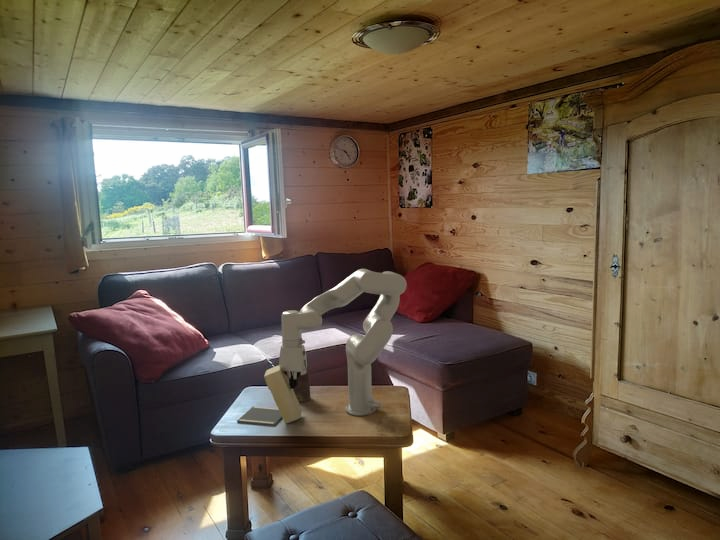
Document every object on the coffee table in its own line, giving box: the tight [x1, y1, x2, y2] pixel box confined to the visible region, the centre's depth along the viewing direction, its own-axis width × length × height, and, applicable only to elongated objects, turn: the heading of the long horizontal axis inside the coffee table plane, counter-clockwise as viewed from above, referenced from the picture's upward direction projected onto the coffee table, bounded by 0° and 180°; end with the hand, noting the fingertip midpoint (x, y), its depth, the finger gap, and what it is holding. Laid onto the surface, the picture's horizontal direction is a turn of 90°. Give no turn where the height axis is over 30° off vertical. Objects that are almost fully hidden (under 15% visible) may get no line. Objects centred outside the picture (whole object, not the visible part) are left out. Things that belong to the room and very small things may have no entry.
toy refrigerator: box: [263, 364, 303, 425], centre depth 194 cm, size 8×7×21 cm
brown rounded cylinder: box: [292, 354, 311, 403], centre depth 214 cm, size 8×7×20 cm
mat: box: [236, 406, 283, 427], centre depth 198 cm, size 16×14×1 cm
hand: (293, 387), depth 193 cm, fingers closed
